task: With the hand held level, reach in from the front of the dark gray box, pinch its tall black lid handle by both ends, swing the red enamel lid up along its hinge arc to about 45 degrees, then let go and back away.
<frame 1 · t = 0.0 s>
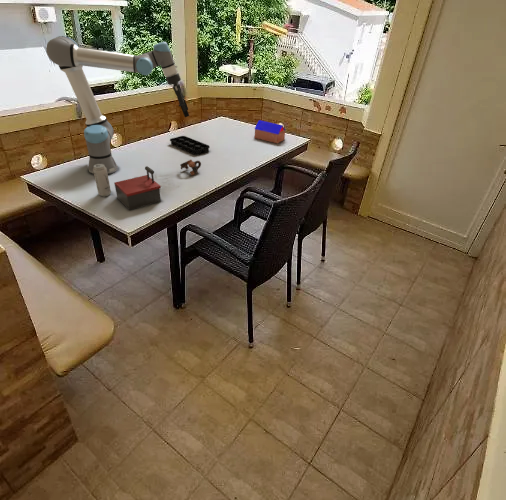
hand: (186, 113, 202), 28 cm above the table, tool tilted 20°, fingers open, 13 cm apart
lid: (136, 178, 166), point 11 cm above the table, hinge at 0.0°
dark gray box: (139, 199, 172), on the table
energy drink can: (105, 194, 174), on the table
house: (269, 138, 260), on the table
egg carton: (189, 148, 235), on the table
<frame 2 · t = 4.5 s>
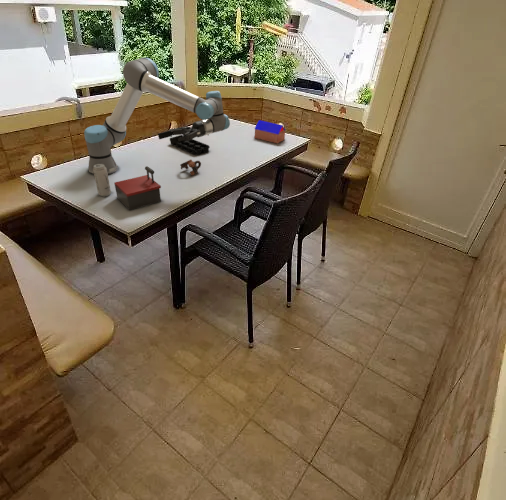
hand: (164, 138, 169), 26 cm above the table, tool horizontal, fingers open, 13 cm apart
nothing on the table moved.
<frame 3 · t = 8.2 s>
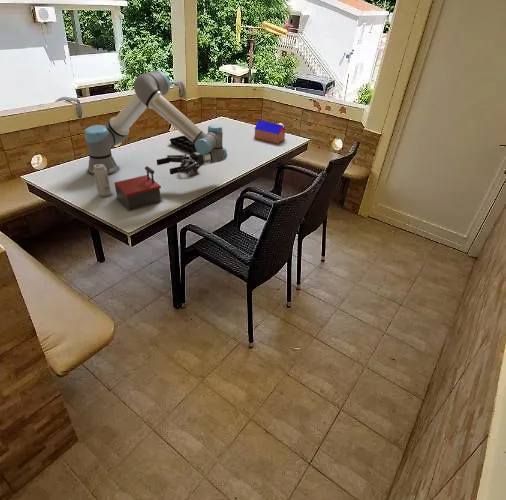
hand: (163, 167, 172), 14 cm above the table, tool horizontal, fingers open, 13 cm apart
nothing on the table moved.
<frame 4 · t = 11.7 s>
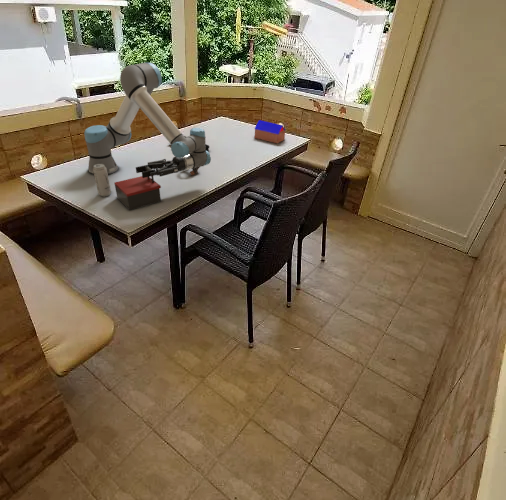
hand: (139, 172, 165), 14 cm above the table, tool horizontal, fingers closed on lid, 6 cm apart
lid: (136, 178, 166), point 11 cm above the table, hinge at 0.0°, touching gripper
everything else where it was.
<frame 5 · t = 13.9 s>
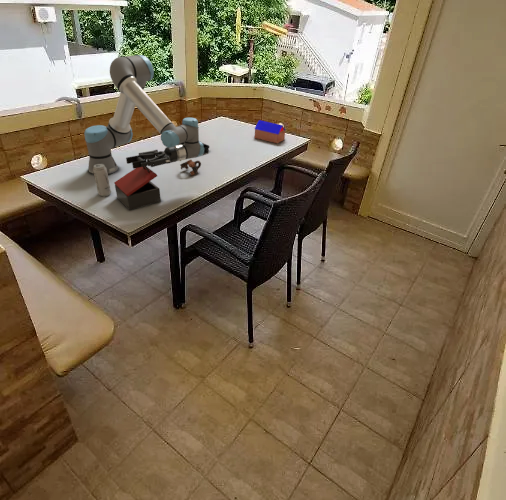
hand: (129, 163, 160), 19 cm above the table, tool horizontal, fingers closed on lid, 6 cm apart
lid: (132, 174, 163), point 14 cm above the table, hinge at 22.4°, touching gripper
everything else where it was.
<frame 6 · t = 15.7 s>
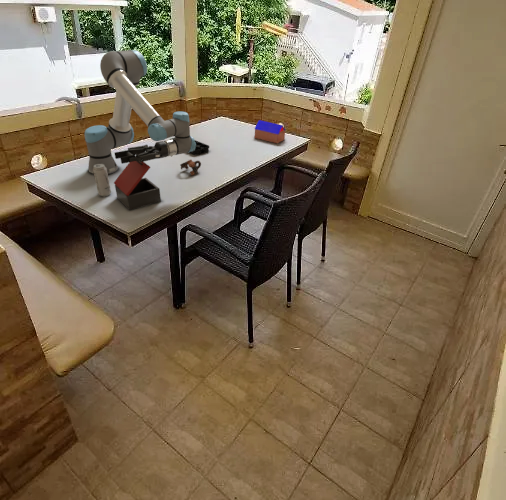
hand: (118, 158, 155), 23 cm above the table, tool horizontal, fingers closed on lid, 6 cm apart
lid: (126, 171, 160), point 16 cm above the table, hinge at 42.1°, touching gripper
everything else where it was.
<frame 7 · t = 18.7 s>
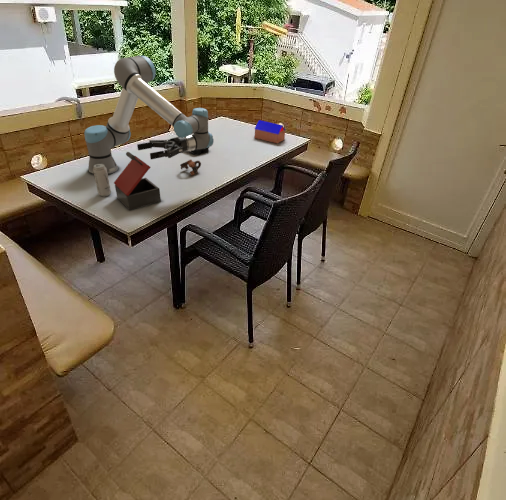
hand: (143, 151, 161), 23 cm above the table, tool horizontal, fingers open, 13 cm apart
lid: (126, 171, 160), point 16 cm above the table, hinge at 42.0°
everything else where it was.
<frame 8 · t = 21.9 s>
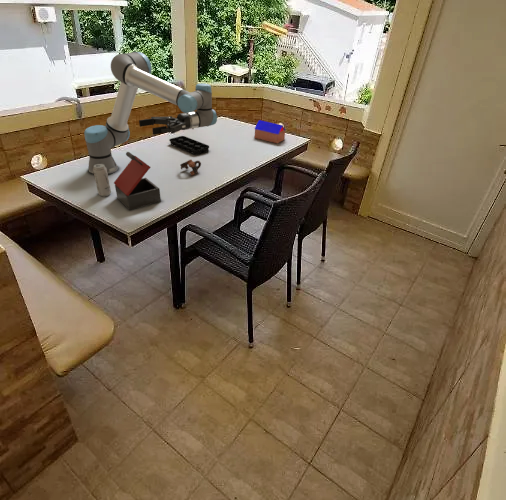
hand: (146, 127, 156), 34 cm above the table, tool horizontal, fingers open, 13 cm apart
nothing on the table moved.
at the end: lid at +42° (first picture: +0°); the gripper is holding nothing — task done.
